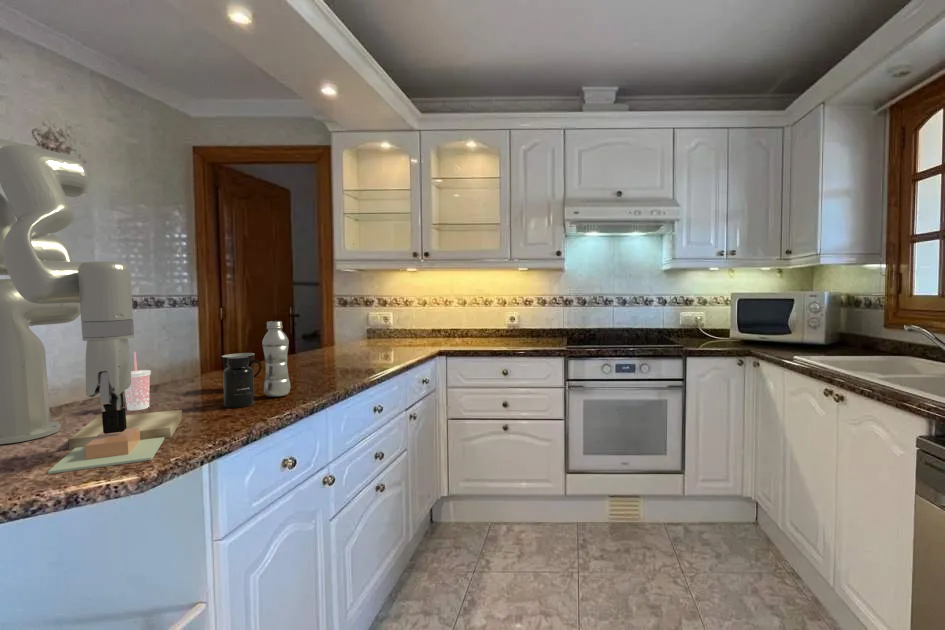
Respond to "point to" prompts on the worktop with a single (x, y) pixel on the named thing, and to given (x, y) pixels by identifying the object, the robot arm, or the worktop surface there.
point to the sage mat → (78, 457)
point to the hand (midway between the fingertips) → (115, 431)
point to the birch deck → (147, 422)
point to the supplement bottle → (238, 383)
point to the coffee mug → (249, 355)
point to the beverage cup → (138, 389)
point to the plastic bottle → (276, 360)
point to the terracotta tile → (113, 444)
